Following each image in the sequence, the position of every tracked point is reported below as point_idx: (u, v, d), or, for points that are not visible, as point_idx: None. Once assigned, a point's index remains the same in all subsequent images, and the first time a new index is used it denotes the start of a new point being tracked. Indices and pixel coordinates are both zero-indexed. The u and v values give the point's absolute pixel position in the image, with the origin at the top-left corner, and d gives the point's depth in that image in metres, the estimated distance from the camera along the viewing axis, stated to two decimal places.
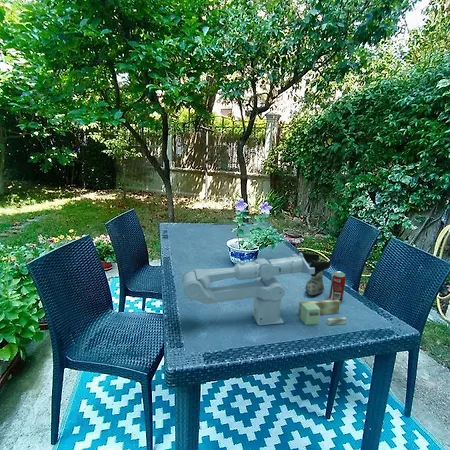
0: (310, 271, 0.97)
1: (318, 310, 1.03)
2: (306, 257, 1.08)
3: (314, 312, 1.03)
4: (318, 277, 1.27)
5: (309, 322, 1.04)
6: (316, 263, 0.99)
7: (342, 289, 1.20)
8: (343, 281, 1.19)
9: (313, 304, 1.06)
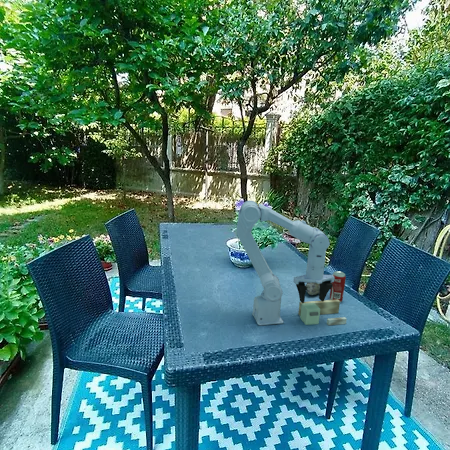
0: (295, 279, 1.01)
1: (318, 310, 1.03)
2: (323, 288, 1.04)
3: (314, 312, 1.03)
4: None
5: (309, 322, 1.04)
6: (300, 288, 1.00)
7: (342, 289, 1.20)
8: (343, 281, 1.19)
9: (313, 304, 1.06)
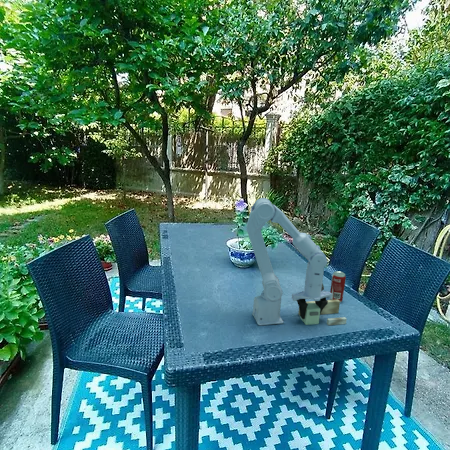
0: (293, 296, 1.03)
1: (318, 310, 1.03)
2: (318, 305, 1.05)
3: (314, 312, 1.03)
4: None
5: (309, 322, 1.04)
6: (301, 305, 1.02)
7: (342, 289, 1.20)
8: (343, 281, 1.19)
9: (313, 304, 1.06)
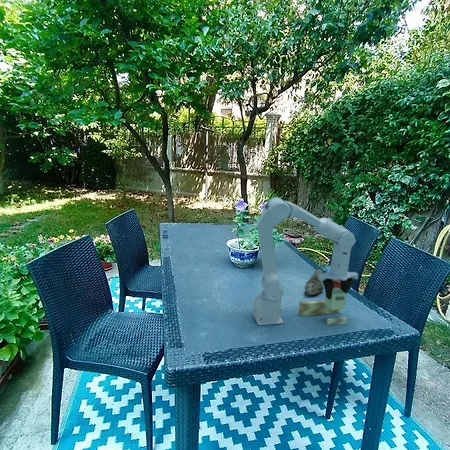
0: (319, 276, 1.02)
1: (344, 295, 1.03)
2: (344, 285, 1.05)
3: (340, 297, 1.03)
4: None
5: (335, 307, 1.04)
6: (328, 285, 1.01)
7: None
8: None
9: (338, 289, 1.06)
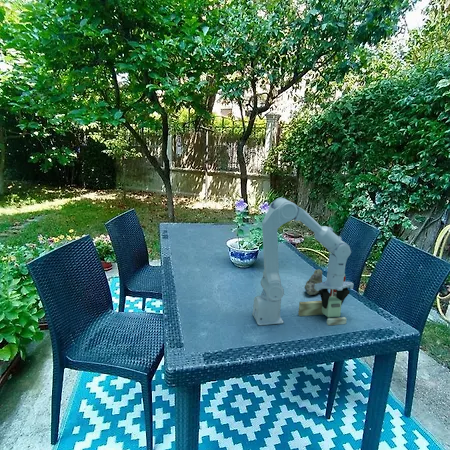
0: (316, 285, 1.05)
1: (339, 302, 1.06)
2: (340, 295, 1.07)
3: (336, 304, 1.06)
4: (318, 276, 1.27)
5: (331, 314, 1.06)
6: (324, 295, 1.04)
7: None
8: None
9: (334, 297, 1.09)
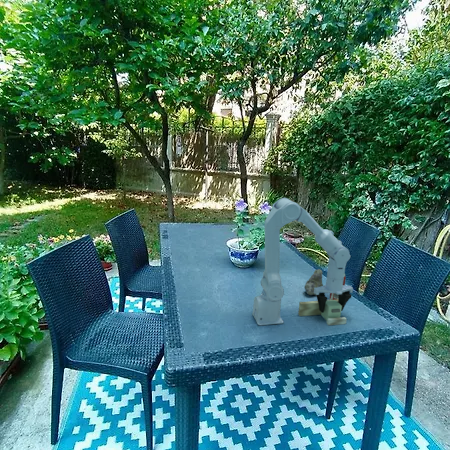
0: (315, 289, 1.05)
1: (340, 307, 1.06)
2: (342, 298, 1.08)
3: (336, 309, 1.06)
4: (318, 277, 1.27)
5: None
6: (321, 299, 1.04)
7: None
8: (343, 281, 1.19)
9: (334, 301, 1.09)
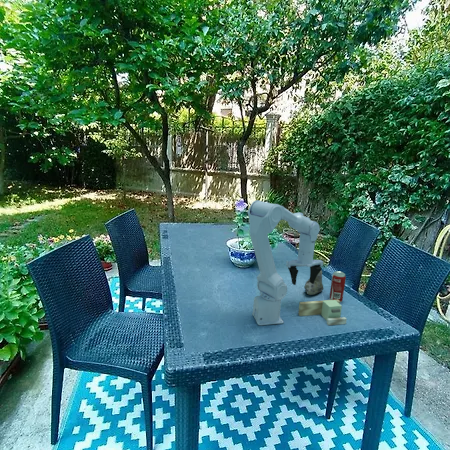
0: (287, 263, 1.12)
1: (340, 307, 1.06)
2: (313, 271, 1.15)
3: (336, 309, 1.06)
4: (318, 276, 1.27)
5: None
6: (292, 271, 1.11)
7: (342, 289, 1.20)
8: (343, 281, 1.19)
9: (334, 301, 1.09)
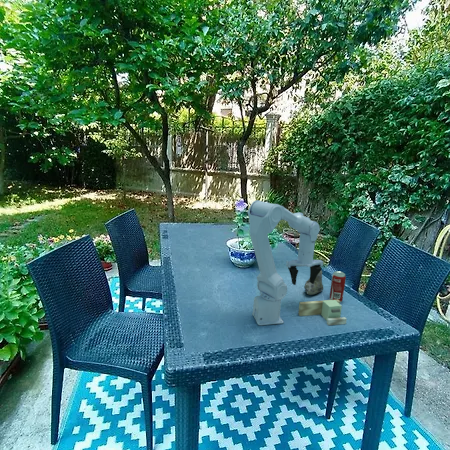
0: (287, 263, 1.12)
1: (340, 307, 1.06)
2: (313, 271, 1.15)
3: (336, 309, 1.06)
4: (318, 276, 1.28)
5: None
6: (292, 271, 1.11)
7: (342, 289, 1.20)
8: (343, 281, 1.19)
9: (334, 301, 1.09)
